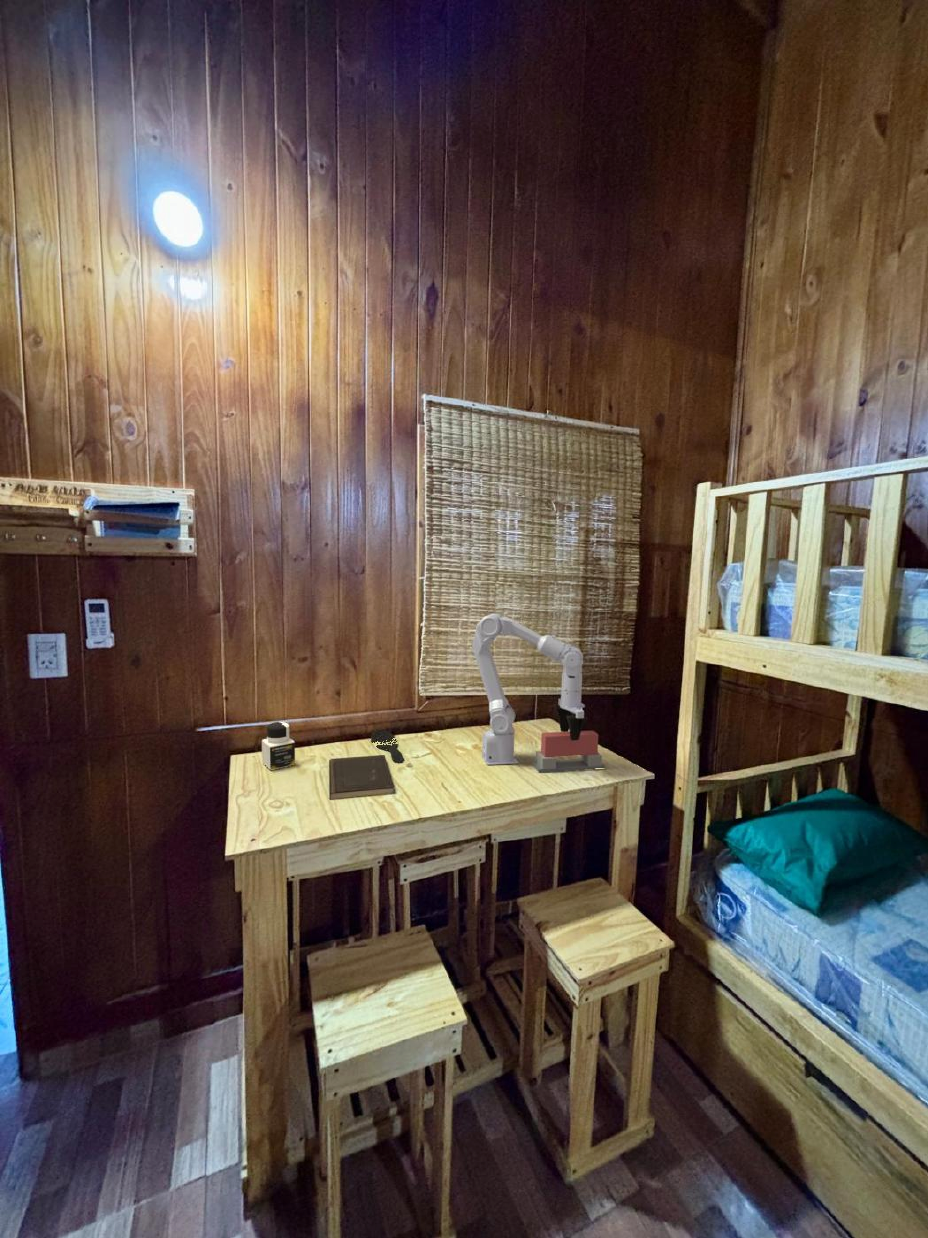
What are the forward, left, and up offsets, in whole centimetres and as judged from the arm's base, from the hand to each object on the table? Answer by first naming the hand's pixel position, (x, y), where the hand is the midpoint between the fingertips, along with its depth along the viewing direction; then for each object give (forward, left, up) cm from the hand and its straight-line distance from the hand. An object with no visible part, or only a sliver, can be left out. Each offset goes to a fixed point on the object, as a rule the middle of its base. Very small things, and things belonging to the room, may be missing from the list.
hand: (569, 735), depth 149 cm
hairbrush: (-51, +21, -10) cm, 56 cm away
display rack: (0, 0, -9) cm, 9 cm away
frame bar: (0, 0, -5) cm, 5 cm away
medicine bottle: (-83, +13, -10) cm, 84 cm away
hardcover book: (-60, 0, -10) cm, 61 cm away
